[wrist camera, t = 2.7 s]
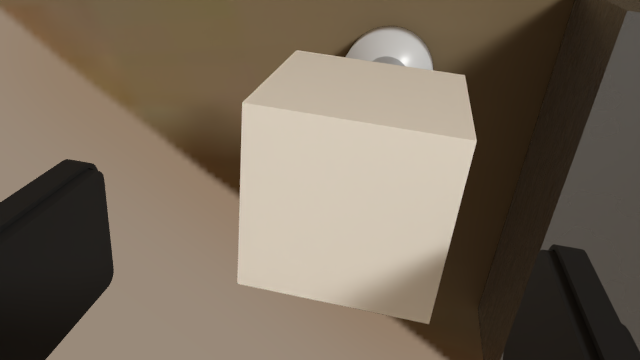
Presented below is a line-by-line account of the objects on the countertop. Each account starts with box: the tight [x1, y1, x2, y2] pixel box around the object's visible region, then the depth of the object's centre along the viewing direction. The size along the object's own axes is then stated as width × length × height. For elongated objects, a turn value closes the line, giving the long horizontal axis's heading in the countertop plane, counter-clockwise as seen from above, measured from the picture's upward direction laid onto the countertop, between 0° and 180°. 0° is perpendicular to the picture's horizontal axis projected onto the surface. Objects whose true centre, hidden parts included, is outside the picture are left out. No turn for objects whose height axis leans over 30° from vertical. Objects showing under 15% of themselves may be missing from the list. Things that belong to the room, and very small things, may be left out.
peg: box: [237, 26, 477, 324], centre depth 18 cm, size 5×5×14 cm
